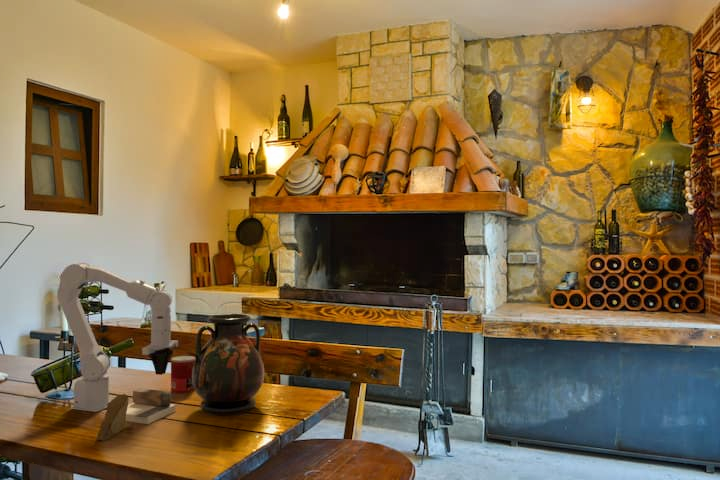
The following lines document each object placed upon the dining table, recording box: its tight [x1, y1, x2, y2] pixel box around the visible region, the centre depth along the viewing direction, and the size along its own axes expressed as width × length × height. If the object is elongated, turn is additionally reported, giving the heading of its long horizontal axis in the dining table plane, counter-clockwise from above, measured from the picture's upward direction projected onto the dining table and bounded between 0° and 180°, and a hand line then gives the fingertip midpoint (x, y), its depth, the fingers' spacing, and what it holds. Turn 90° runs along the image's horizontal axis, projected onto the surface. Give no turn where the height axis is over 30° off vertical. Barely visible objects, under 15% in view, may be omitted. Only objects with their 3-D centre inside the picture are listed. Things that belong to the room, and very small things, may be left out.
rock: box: [95, 393, 130, 441], centre depth 142 cm, size 11×9×10 cm
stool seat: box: [126, 402, 176, 425], centre depth 157 cm, size 13×13×2 cm
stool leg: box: [132, 388, 172, 406], centre depth 162 cm, size 12×3×4 cm, turn 72°
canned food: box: [170, 355, 196, 394], centre depth 184 cm, size 8×8×11 cm
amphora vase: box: [192, 313, 265, 416], centre depth 165 cm, size 22×22×28 cm
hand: (160, 373), depth 169 cm, fingers closed
